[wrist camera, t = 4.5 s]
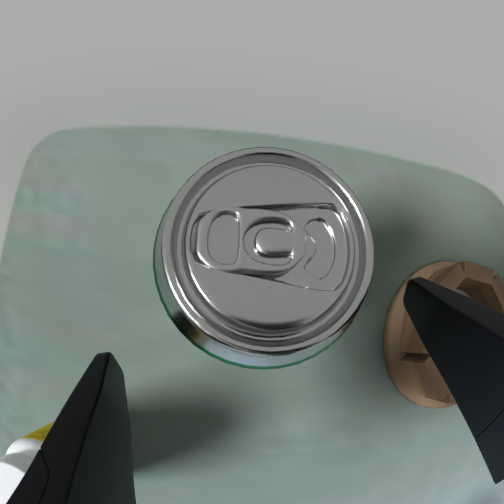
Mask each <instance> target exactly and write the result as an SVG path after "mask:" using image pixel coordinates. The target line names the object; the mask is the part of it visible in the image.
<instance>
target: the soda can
mask: <svg viewBox="0 0 504 504" xmlns="http://www.w3.org/2000/svg"><path fill="white" fill-rule="evenodd" d="M373 267H374V244H373V237H372V232H371V228H370V225H369V221H368V218H367V216H366V214H365V212H364V210H363V207H362V205H361V204H360V202H359V200H358V199H357V197H356V196H355V194H354V193H353V191H352V190H351V189H350V188H349V187H348V185H347V184H346V183H345V182H344V181H343V180H342V179H341V178H340V177H339V176H338V175H337V174H335V173H334V172H333V171H332V170H331V169H329V168H328V167H326V166H325V165H323V164H322V163H320V162H319V161H317V160H315V159H312V158H310V157H308V156H306V155H304V154H301V153H298V152H294V151H291V150H287V149H281V148H275V147H255V148H246V149H241V150H237V151H234V152H230V153H227V154H225V155H223V156H220V157H218V158H216V159H214V160H212V161H211V162H209V163H207V164H206V165H204V166H203V167H201V168H200V169H199V170H198V171H197V172H195V173H194V174H193V175H192V176H191V177H190V178H189V179H188V180H187V181H186V183H185V184H184V185H183V186H182V187H181V189H180V190H179V191H178V193H177V195H176V196H175V197H174V199H173V200H172V201H171V202H170V204H169V206H168V208H167V209H166V211H165V213H164V215H163V216H162V219H161V222H160V224H159V227H158V230H157V233H156V238H155V243H154V249H153V270H154V277H155V284H156V287H157V290H158V293H159V296H160V300H161V302H162V304H163V306H164V308H165V310H166V312H167V314H168V316H169V317H170V319H171V320H172V321H173V323H174V324H175V326H176V327H177V328H178V330H179V331H180V332H181V333H182V334H183V335H184V336H185V337H186V338H187V339H188V340H189V341H190V342H191V343H192V344H193V345H195V346H196V347H198V348H199V349H201V350H202V351H204V352H205V353H207V354H208V355H210V356H212V357H214V358H216V359H218V360H221V361H223V362H225V363H228V364H232V365H236V366H239V367H243V368H252V369H276V368H283V367H287V366H292V365H296V364H299V363H301V362H304V361H306V360H308V359H311V358H313V357H315V356H316V355H318V354H319V353H321V352H323V351H324V350H326V349H327V348H329V347H330V346H331V345H332V344H333V343H334V342H335V341H336V340H337V339H339V338H340V337H341V336H342V334H343V333H344V332H345V331H346V329H347V328H348V327H349V326H350V324H351V323H352V321H353V319H354V318H355V316H356V314H357V312H358V310H359V309H360V306H361V304H362V302H363V300H364V298H365V297H366V294H367V291H368V288H369V285H370V283H371V279H372V273H373Z"/></svg>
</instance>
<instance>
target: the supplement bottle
mask: <svg viewBox="0 0 504 504" xmlns="http://www.w3.org/2000/svg"><path fill="white" fill-rule="evenodd" d="M54 422H55V421H54ZM54 422H52V423H50V424H48V425H46V426H44V427H42V428H40V429H38V430H36V431H34V432H32V433H30V434H28V435H26V436H24V437H22V438H20V439H18V440H16V441H15V442H14V443H12V444H11V446H10V447H9V448H8V450H7V453H6V455H5V456H3V457H1V458H0V504H6V503H7V501H8V500H9V498H10V497H11V495H12V494H13V492H14V490H15V489H16V487H17V486H18V484H19V483H20V481H21V479H22V478H23V476H24V475H25V473H26V472H27V470H28V468H29V466H30V464H31V463H32V461H33V459H34V457H35V456H36V454H37V452H38V450H39V449H41V448H40V447H41V445H42V443H43V441H44V439H45V438H46V436H47V434H48V432H49V431H50V429H51V427H52V425H53V424H54Z"/></svg>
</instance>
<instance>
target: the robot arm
mask: <svg viewBox="0 0 504 504" xmlns="http://www.w3.org/2000/svg"><path fill="white" fill-rule="evenodd" d="M403 304H404V307H405V309H406V311H407V313H408V315H409V317H410V319H411V321H412V323H413V325H414V327H415V329H416V331H417V333H418V335H419V337H420V339H421V341H422V343H423V345H424V347H425V349H426V350H427V352H428V354H429V355H430V357H431V359H432V360H433V362H434V364H435V365H436V367H437V369H438V371H439V372H440V374H441V376H442V378H443V379H444V381H445V383H446V385H447V387H448V388H449V390H450V392H451V394H452V396H453V398H454V399H455V401H456V403H457V405H458V407H459V409H460V411H461V413H462V415H463V416H464V418H465V420H466V422H467V424H468V426H469V428H470V430H471V432H472V434H473V436H474V438H475V441H476V443H477V445H478V447H479V449H480V451H481V454H482V456H483V458H484V460H485V462H486V465H487V467H488V469H489V471H490V474H491V476H492V478H493V481H494V482H495V484H497V483H499V482H500V481H502V480H503V479H504V313H502V312H500V311H498V310H496V309H494V308H491V307H489V306H487V305H485V304H482V303H480V302H478V301H476V300H474V299H471V298H469V297H467V296H464V295H462V294H460V293H458V292H455V291H453V290H451V289H448V288H446V287H444V286H441V285H439V284H437V283H434V282H432V281H430V280H427V279H425V278H423V277H415V278H412V279H409V280H408V282H407V285H406V289H405V293H404V297H403ZM40 448H41V449H39V450H38V452H37V454H36V456H35V457H34V459H33V461H32V463H31V464H30V466H29V468H28V470H27V472H26V473H25V475H24V476H23V478H22V479H21V481H20V483H19V484H18V486H17V487H16V489H15V490H14V492H13V494H12V495H11V497H10V498H9V500H8V501H7V503H6V504H136V499H135V490H134V479H133V468H132V454H131V435H130V421H129V413H128V406H127V399H126V391H125V382H124V375H123V371H122V369H121V367H120V366H119V364H118V363H117V361H116V359H115V358H114V356H113V355H112V353H110V352H105V353H99V354H97V355H96V356H95V357H94V359H93V360H92V362H91V363H90V365H89V367H88V368H87V370H86V371H85V373H84V374H83V376H82V378H81V379H80V381H79V382H78V384H77V386H76V387H75V389H74V390H73V392H72V394H71V395H70V397H69V399H68V400H67V402H66V403H65V405H64V407H63V408H62V410H61V412H60V414H59V415H58V417H57V419H56V420H55V422H54V424H53V425H52V427H51V429H50V431H49V432H48V434H47V436H46V438H45V439H44V441H43V443H42V445H41V447H40Z"/></svg>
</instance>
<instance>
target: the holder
mask: <svg viewBox="0 0 504 504" xmlns="http://www.w3.org/2000/svg"><path fill="white" fill-rule="evenodd" d="M415 277H423V278H425V279H427V280H430V281H432V282H434V283H437V284H439V285H441V286H444V287H446V288H448V289H451V290H453V291H455V292H458V293H460V294H462V295H464V296H467V297H469V298H471V299H474V300H476V301H478V302H480V303H482V304H485V305H487V306H489V307H491V308H494V309H496V310H498V311H500V312H502V313H504V287H503V285H502V283H501V281H500V279H499V277H498V275H495V276H493V270H491V269H488V268H485V267H482V266H479V265H476V264H473V263H470V262H467V261H463V262H461V263H456V262H451V261H441V262H436V263H433V264H431V265H428V266H425V267H422V268H420V269H419V270H417V271H415V272H414V273H412V274H411V275H410V276H409V277H408V278H407V279H406V280H405V281H404V282H403V283H402V285H401V286H400V287H399V289H398V290H397V292H396V294H395V295H394V297H393V299H392V302H391V304H390V306H389V310H388V313H387V316H386V321H385V326H384V335H383V350H384V358H385V363H386V367H387V370H388V373H389V376H390V378H391V380H392V382H393V384H394V385H395V387H396V388H397V389H398V391H399V392H400V393H401V394H402V395H403V396H404V397H405V398H407V399H408V400H410V401H412V402H414V403H416V404H419V405H422V406H425V407H429V408H445V407H448V406H452V405H454V404H456V401H455V399H454V398H453V396H452V394H451V392H450V390H449V388H448V387H447V385H446V383H445V381H444V379H443V378H442V376H441V374H440V372H439V371H438V369H437V367H436V365H435V364H434V362H433V360H432V359H431V357H430V355H429V354H428V352H427V350H426V349H425V347H424V345H423V343H422V341H421V339H420V337H419V335H418V333H417V331H416V329H415V327H414V325H413V323H412V321H411V319H410V317H409V315H408V313H407V311H406V309H405V307H404V304H403V297H404V293H405V289H406V285H407V282H408V280H409V279H412V278H415Z"/></svg>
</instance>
